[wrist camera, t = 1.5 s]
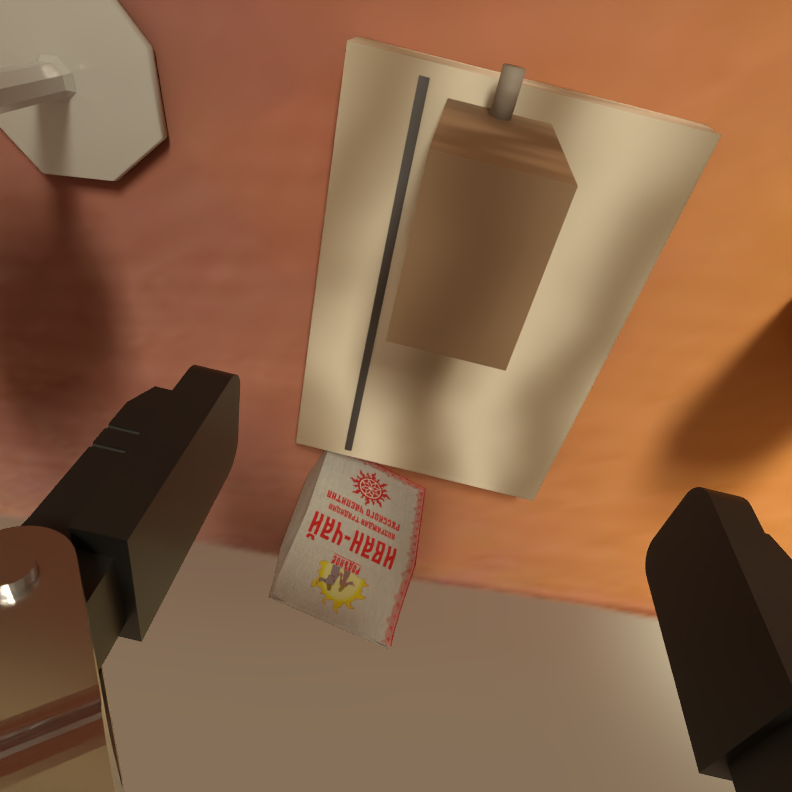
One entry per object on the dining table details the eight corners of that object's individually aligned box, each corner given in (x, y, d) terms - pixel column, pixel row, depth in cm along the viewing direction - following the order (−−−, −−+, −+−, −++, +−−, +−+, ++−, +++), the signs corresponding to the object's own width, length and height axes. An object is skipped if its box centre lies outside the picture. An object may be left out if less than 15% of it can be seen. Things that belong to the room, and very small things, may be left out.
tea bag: (396, 519, 38) (371, 662, 30) (307, 475, 37) (256, 612, 29) (425, 488, 36) (406, 632, 28) (331, 440, 35) (283, 577, 27)
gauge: (567, 76, 20) (603, 120, 14) (501, 270, 25) (505, 370, 18) (458, 48, 20) (444, 80, 14) (412, 248, 25) (385, 341, 18)
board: (704, 124, 22) (722, 135, 21) (531, 476, 34) (533, 502, 33) (357, 36, 22) (346, 40, 20) (305, 421, 34) (295, 444, 32)
